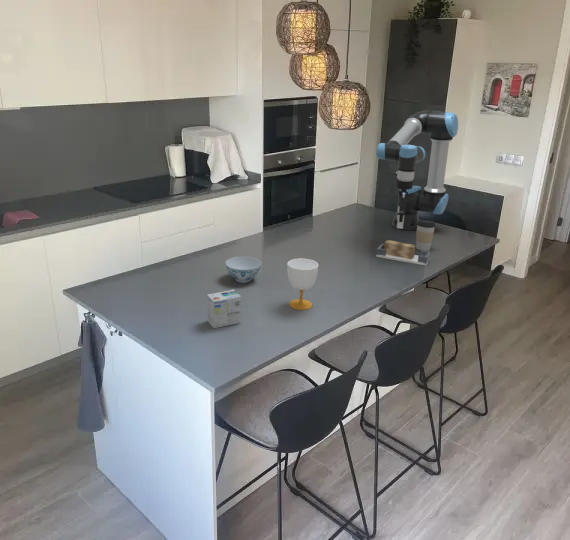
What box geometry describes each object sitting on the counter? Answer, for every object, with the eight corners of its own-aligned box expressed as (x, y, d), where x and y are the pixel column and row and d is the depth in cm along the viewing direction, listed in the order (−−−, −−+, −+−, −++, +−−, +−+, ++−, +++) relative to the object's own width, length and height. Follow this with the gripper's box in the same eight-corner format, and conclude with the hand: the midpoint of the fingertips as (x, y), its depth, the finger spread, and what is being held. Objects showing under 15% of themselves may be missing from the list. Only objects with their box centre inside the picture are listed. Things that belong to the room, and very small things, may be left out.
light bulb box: (234, 315, 198) (234, 288, 194) (241, 323, 193) (241, 295, 189) (206, 320, 193) (206, 293, 189) (213, 329, 188) (213, 301, 184)
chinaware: (221, 274, 233) (221, 258, 230) (254, 271, 238) (254, 254, 235) (231, 288, 220) (231, 271, 217) (265, 284, 225) (266, 267, 222)
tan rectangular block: (383, 253, 262) (384, 242, 259) (386, 251, 265) (387, 239, 263) (411, 259, 255) (413, 247, 253) (414, 257, 259) (415, 245, 256)
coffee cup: (432, 252, 269) (436, 223, 263) (413, 250, 270) (417, 221, 265) (431, 246, 277) (435, 218, 271) (413, 244, 279) (417, 216, 273)
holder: (380, 251, 268) (381, 243, 266) (429, 259, 259) (430, 251, 258) (376, 256, 260) (377, 248, 259) (426, 265, 251) (427, 257, 250)
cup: (291, 296, 215) (293, 256, 209) (319, 301, 211) (322, 261, 205) (281, 307, 205) (282, 266, 198) (310, 314, 201) (312, 271, 195)
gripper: (396, 173, 259) (391, 215, 267) (396, 185, 236) (391, 231, 244) (412, 174, 257) (407, 217, 265) (414, 186, 235) (408, 232, 243)
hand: (399, 224), depth 255 cm, fingers open, 13 cm apart
